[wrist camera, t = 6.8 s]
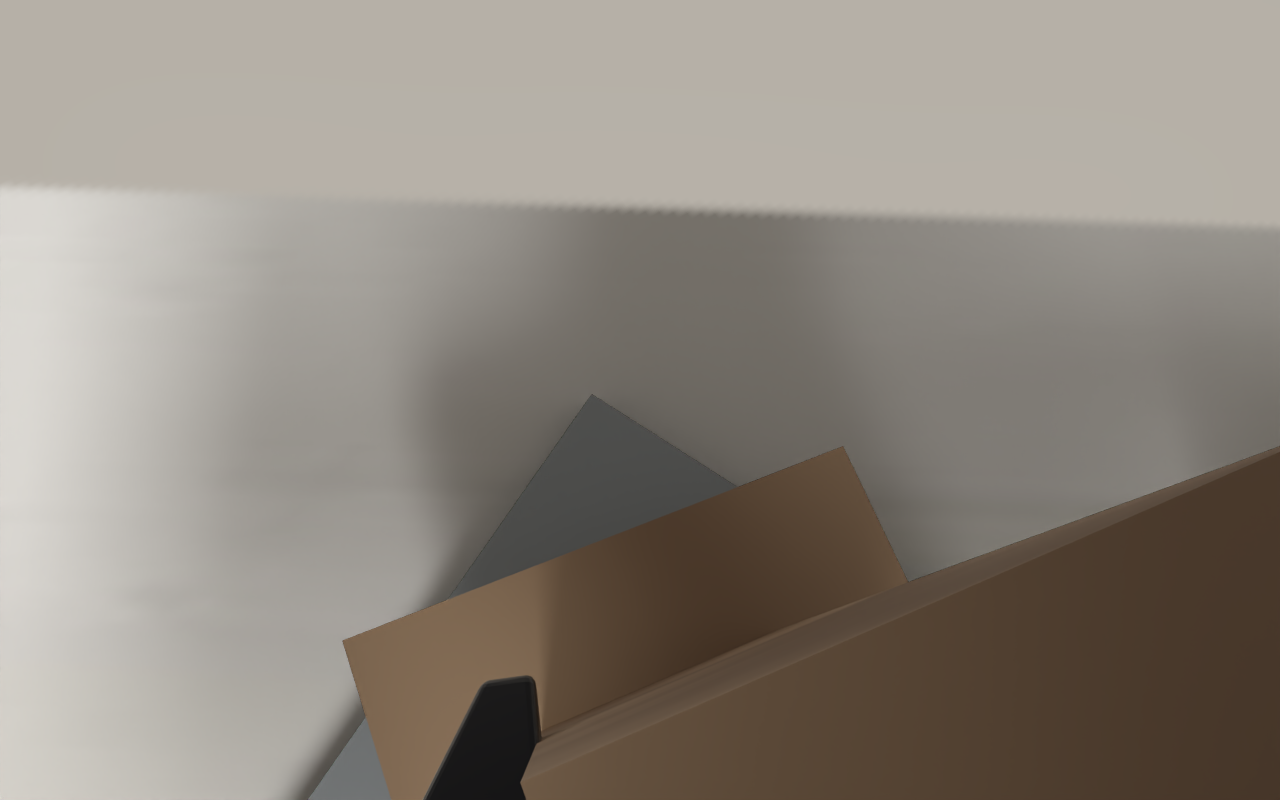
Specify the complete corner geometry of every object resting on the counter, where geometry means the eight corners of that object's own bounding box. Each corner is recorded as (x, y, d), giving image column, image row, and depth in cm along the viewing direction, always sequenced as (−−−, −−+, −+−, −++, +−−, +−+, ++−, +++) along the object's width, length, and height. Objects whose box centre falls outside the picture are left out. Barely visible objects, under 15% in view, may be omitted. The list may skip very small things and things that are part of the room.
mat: (775, 1261, 13) (786, 1286, 13) (255, 884, 14) (242, 892, 13) (1037, 690, 16) (1054, 689, 15) (590, 404, 17) (592, 394, 16)
